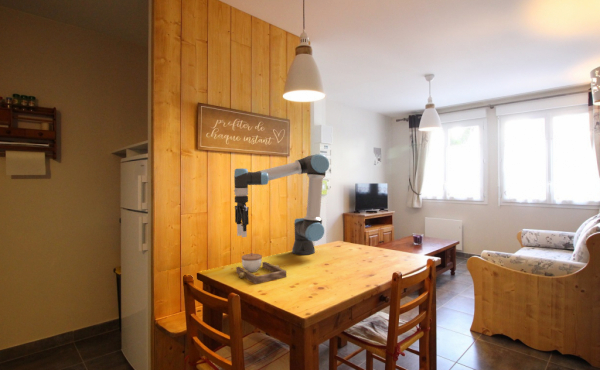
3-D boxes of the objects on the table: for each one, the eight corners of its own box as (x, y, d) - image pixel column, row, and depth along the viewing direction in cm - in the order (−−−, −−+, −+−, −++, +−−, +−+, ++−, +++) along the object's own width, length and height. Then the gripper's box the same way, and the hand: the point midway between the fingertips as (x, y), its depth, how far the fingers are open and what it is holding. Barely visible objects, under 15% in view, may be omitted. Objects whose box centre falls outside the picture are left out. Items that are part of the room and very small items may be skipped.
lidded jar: (258, 273, 154) (257, 255, 154) (238, 272, 156) (238, 255, 156) (264, 268, 165) (264, 251, 165) (246, 267, 167) (246, 250, 167)
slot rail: (268, 266, 168) (268, 260, 168) (290, 275, 151) (290, 269, 150) (231, 273, 155) (231, 267, 155) (250, 285, 138) (250, 278, 138)
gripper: (228, 195, 175) (229, 234, 175) (242, 196, 160) (242, 239, 161) (240, 194, 179) (241, 233, 180) (254, 195, 165) (255, 237, 165)
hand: (241, 236), depth 170 cm, fingers open, 5 cm apart
